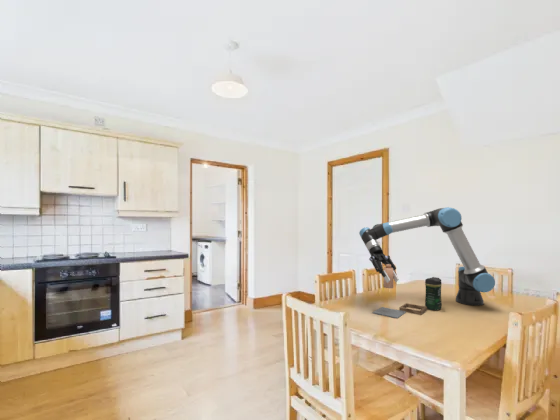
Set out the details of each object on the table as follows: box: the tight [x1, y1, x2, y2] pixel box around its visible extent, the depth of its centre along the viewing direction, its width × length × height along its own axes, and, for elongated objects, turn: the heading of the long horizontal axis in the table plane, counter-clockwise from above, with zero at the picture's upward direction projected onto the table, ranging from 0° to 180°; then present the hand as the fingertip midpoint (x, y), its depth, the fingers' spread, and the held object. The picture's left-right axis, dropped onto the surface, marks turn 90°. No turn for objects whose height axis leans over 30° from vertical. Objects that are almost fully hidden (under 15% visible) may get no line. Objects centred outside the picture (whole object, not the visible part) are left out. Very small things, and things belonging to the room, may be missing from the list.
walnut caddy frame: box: [398, 302, 428, 316], centre depth 178 cm, size 12×12×2 cm
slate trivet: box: [372, 306, 407, 319], centre depth 173 cm, size 14×14×1 cm
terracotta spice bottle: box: [383, 264, 394, 289], centre depth 174 cm, size 5×5×13 cm
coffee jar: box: [424, 276, 443, 311], centre depth 182 cm, size 10×8×19 cm
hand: (392, 280), depth 170 cm, fingers closed on terracotta spice bottle, 5 cm apart
